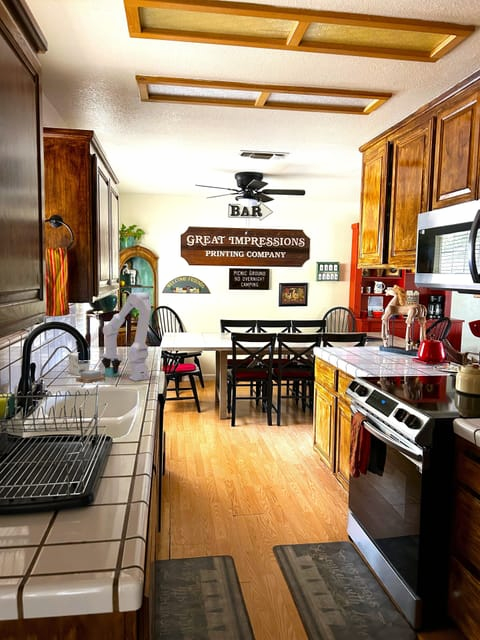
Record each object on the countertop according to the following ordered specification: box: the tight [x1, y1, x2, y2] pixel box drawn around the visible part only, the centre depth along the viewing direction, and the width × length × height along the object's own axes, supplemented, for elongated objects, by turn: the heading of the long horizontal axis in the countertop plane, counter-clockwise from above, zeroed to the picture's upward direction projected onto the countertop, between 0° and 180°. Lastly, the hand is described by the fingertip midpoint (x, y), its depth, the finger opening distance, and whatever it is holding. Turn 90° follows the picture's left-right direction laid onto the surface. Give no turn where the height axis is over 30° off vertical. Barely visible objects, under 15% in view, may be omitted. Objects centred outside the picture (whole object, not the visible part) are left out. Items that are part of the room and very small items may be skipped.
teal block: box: [104, 366, 119, 378], centre depth 254 cm, size 5×5×4 cm
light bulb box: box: [67, 352, 90, 376], centre depth 259 cm, size 11×7×11 cm, turn 47°
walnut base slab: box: [75, 375, 106, 384], centre depth 241 cm, size 10×10×2 cm
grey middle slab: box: [79, 369, 102, 379], centre depth 241 cm, size 7×7×2 cm
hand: (111, 372), depth 254 cm, fingers closed on teal block, 5 cm apart
